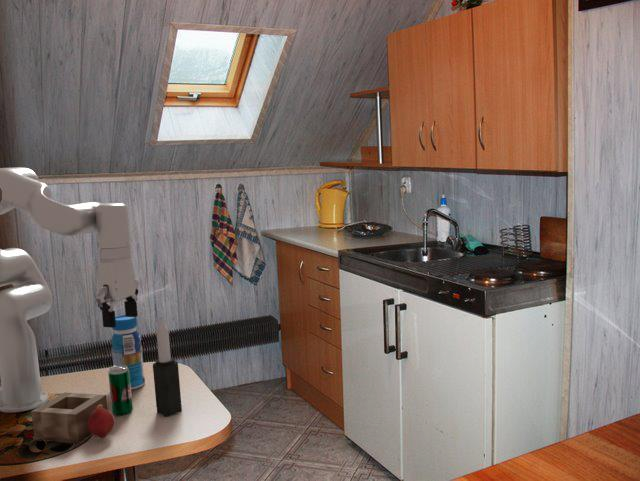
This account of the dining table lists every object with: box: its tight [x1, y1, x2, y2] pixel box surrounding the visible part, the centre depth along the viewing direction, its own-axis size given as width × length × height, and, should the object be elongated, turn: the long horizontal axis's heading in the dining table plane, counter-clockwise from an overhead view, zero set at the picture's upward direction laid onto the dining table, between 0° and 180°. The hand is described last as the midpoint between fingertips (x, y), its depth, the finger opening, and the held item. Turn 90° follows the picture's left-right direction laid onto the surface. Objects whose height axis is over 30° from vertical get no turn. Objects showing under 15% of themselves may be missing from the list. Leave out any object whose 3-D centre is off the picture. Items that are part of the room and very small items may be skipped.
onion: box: [88, 405, 115, 439], centre depth 153 cm, size 6×6×8 cm
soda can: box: [107, 365, 134, 417], centre depth 168 cm, size 5×5×12 cm
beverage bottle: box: [110, 314, 146, 391], centre depth 187 cm, size 8×8×20 cm
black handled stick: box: [152, 315, 183, 418], centre depth 166 cm, size 5×5×25 cm
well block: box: [30, 391, 109, 445], centre depth 158 cm, size 12×12×7 cm
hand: (120, 321), depth 165 cm, fingers open, 9 cm apart
